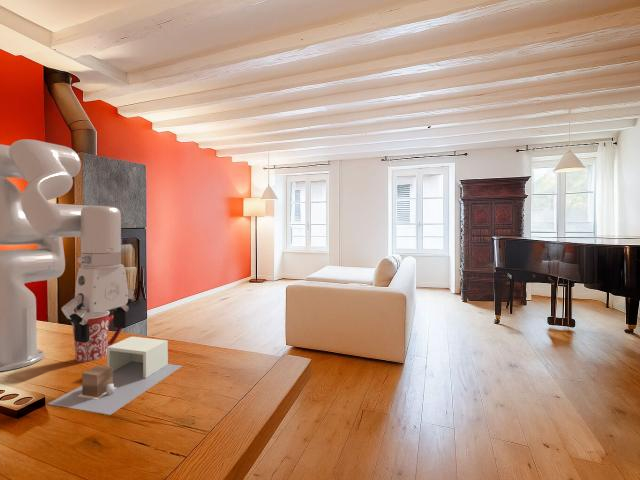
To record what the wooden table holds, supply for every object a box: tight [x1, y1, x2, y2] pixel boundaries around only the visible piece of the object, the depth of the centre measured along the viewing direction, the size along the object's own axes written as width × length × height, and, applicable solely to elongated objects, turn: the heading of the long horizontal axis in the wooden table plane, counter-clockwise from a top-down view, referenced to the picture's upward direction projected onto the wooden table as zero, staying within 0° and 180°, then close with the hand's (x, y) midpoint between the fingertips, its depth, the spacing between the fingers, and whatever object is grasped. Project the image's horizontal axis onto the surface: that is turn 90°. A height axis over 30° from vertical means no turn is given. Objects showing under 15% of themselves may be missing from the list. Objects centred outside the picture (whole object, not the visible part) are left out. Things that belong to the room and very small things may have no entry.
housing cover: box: [106, 336, 169, 378], centre depth 84 cm, size 12×8×7 cm
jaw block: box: [81, 365, 113, 397], centre depth 72 cm, size 4×4×5 cm
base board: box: [47, 361, 183, 416], centre depth 77 cm, size 16×23×3 cm
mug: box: [72, 310, 123, 363], centre depth 92 cm, size 13×9×14 cm
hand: (102, 334), depth 73 cm, fingers open, 9 cm apart
